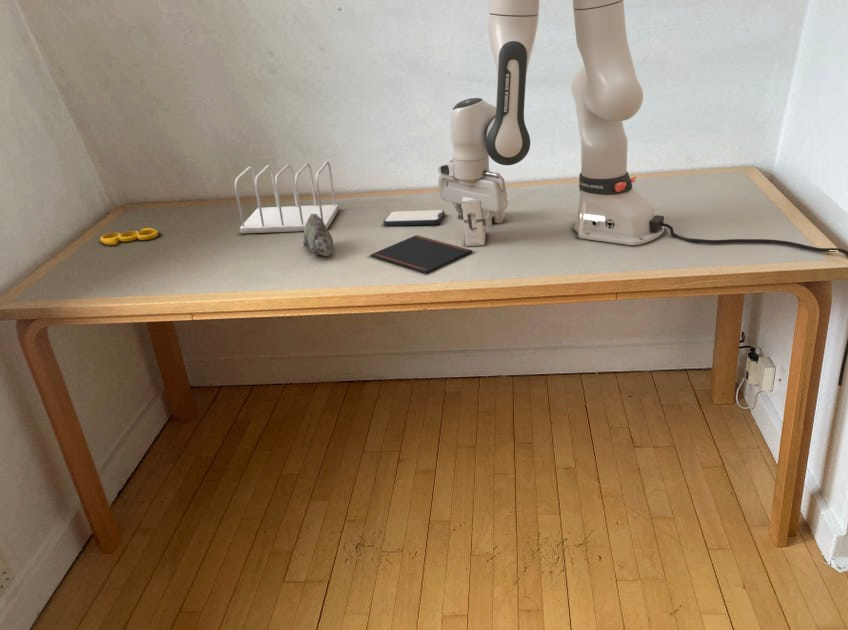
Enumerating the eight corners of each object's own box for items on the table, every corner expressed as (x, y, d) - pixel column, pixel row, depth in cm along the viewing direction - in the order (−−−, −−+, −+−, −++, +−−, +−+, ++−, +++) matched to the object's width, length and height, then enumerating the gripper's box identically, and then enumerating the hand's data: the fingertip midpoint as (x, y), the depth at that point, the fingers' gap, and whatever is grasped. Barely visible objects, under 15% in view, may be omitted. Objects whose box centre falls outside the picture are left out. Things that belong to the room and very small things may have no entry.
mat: (472, 252, 191) (472, 250, 191) (426, 274, 182) (426, 271, 181) (416, 237, 204) (416, 234, 204) (370, 256, 195) (370, 254, 194)
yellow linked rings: (152, 242, 219) (163, 230, 228) (151, 237, 218) (162, 225, 227) (95, 247, 220) (108, 235, 228) (94, 242, 219) (106, 230, 228)
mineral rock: (328, 262, 194) (322, 224, 189) (289, 262, 196) (282, 224, 191) (345, 244, 204) (340, 207, 199) (308, 243, 207) (301, 207, 202)
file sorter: (240, 234, 218) (228, 180, 211) (258, 214, 233) (248, 163, 226) (326, 230, 215) (317, 175, 207) (339, 210, 230) (331, 158, 222)
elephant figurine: (507, 210, 216) (506, 179, 212) (510, 225, 206) (509, 192, 201) (473, 213, 217) (471, 182, 212) (474, 228, 206) (472, 195, 202)
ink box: (466, 234, 203) (463, 190, 197) (486, 233, 202) (483, 189, 196) (464, 246, 195) (461, 201, 189) (484, 246, 194) (482, 200, 189)
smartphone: (383, 227, 214) (439, 225, 210) (382, 221, 213) (438, 220, 209) (391, 216, 222) (445, 214, 218) (390, 211, 221) (445, 209, 217)
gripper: (512, 170, 185) (513, 226, 191) (450, 159, 198) (453, 212, 205) (495, 177, 181) (497, 233, 188) (432, 165, 194) (437, 218, 201)
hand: (474, 222), depth 196 cm, fingers closed on ink box, 7 cm apart
